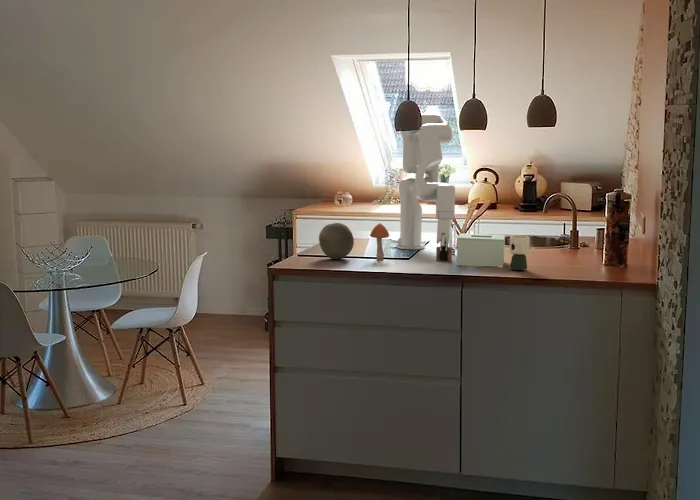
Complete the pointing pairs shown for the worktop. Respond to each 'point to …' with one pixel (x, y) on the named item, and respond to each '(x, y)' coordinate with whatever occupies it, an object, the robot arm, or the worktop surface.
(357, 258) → the worktop surface
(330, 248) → the cantaloupe
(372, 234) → the mushroom
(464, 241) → the coin box
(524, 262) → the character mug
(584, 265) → the worktop surface
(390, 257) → the worktop surface
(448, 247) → the brown wooden block
